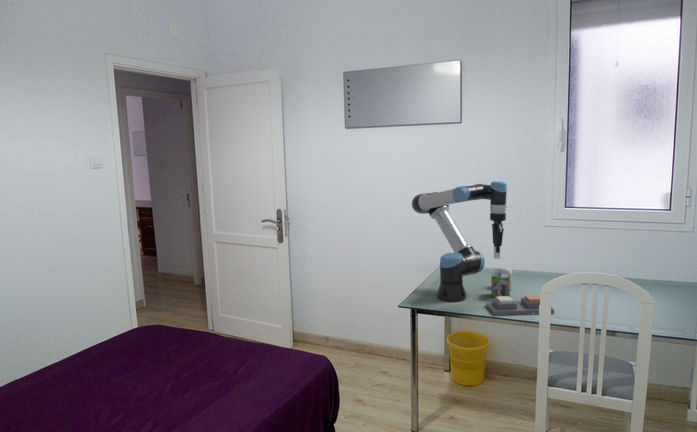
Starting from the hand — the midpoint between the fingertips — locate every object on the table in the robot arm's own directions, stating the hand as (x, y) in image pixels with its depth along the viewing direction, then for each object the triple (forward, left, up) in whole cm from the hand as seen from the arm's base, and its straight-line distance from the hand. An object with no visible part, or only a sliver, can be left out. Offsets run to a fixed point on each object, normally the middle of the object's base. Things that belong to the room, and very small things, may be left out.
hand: (496, 258), depth 235 cm
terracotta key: (+14, -13, -19) cm, 27 cm away
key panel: (+7, -13, -23) cm, 27 cm away
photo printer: (+11, +22, -23) cm, 34 cm away
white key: (0, -13, -19) cm, 23 cm away
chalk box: (+5, +8, -23) cm, 25 cm away
